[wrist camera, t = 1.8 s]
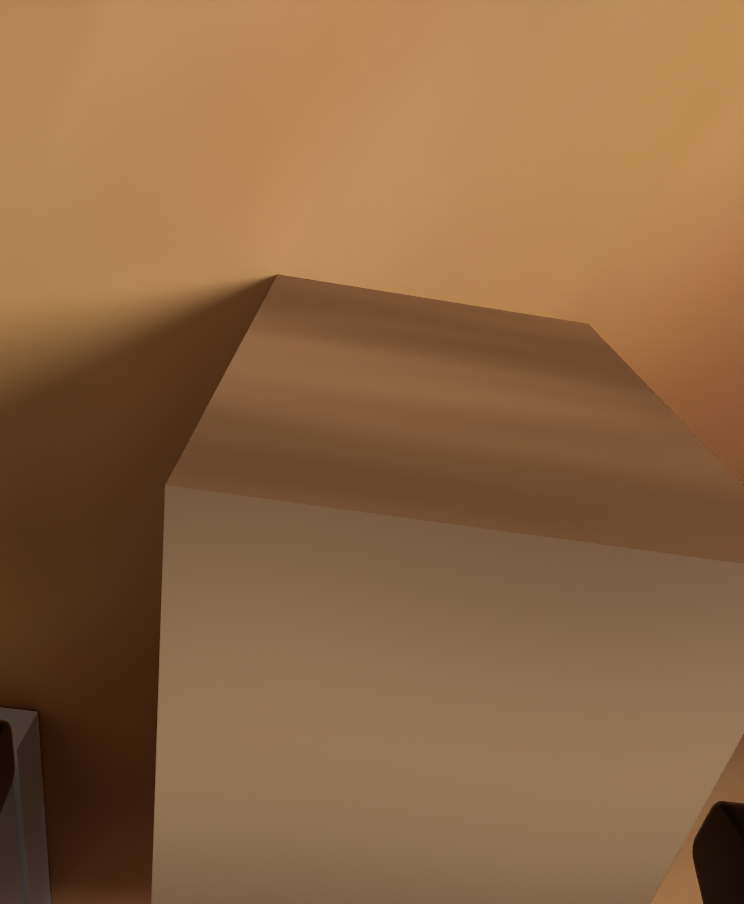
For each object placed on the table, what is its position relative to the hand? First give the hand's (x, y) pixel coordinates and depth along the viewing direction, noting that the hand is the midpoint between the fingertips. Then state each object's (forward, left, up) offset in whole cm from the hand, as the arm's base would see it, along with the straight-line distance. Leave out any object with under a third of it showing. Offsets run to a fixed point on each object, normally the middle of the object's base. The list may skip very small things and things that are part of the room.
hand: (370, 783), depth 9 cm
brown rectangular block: (0, 0, -3) cm, 3 cm away
